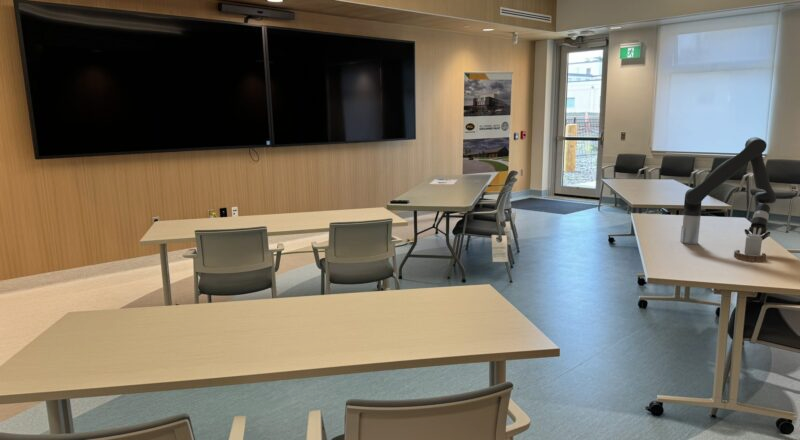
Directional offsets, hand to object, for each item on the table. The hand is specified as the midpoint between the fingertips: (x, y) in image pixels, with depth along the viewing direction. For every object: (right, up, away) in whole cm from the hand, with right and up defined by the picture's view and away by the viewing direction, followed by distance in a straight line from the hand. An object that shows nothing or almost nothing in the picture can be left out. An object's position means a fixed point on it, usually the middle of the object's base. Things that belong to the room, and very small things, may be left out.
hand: (754, 245), depth 304 cm
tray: (-7, -7, -7) cm, 12 cm away
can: (-3, -6, -2) cm, 7 cm away
